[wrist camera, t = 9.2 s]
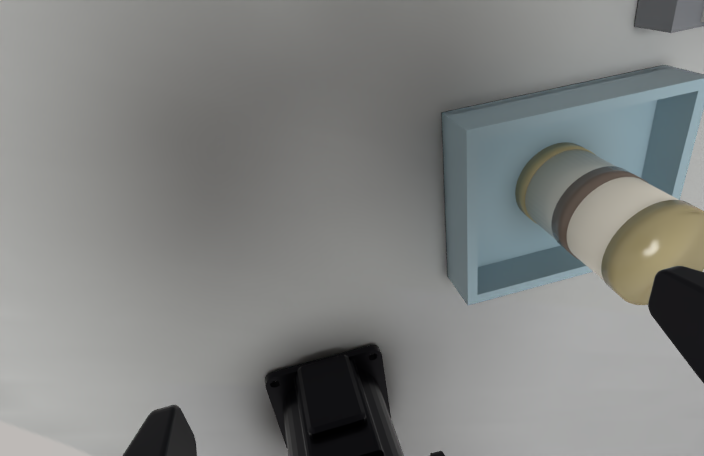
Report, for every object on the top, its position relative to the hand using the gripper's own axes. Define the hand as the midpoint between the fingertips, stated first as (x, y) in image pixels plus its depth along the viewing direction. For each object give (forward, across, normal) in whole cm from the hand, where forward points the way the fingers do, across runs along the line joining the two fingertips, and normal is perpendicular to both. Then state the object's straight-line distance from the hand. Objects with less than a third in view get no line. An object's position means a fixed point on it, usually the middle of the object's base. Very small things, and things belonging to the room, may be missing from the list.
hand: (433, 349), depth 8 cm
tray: (+13, -11, +5) cm, 18 cm away
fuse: (+12, -11, +5) cm, 17 cm away
